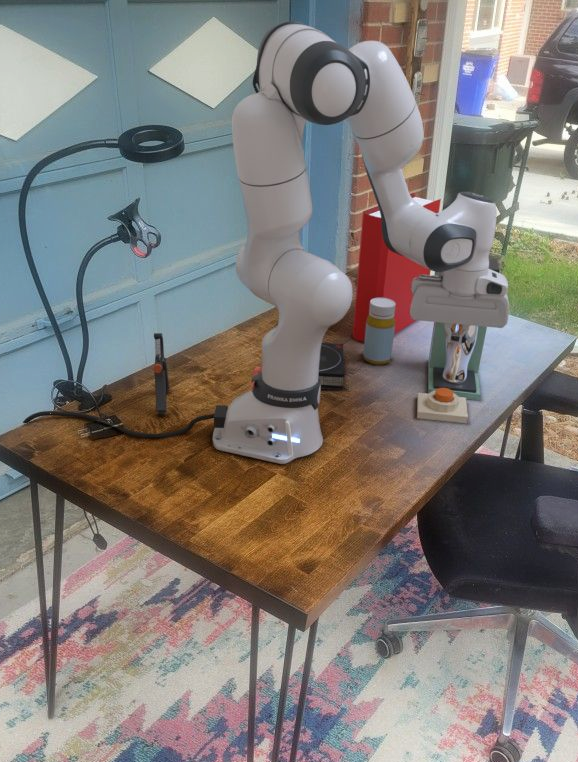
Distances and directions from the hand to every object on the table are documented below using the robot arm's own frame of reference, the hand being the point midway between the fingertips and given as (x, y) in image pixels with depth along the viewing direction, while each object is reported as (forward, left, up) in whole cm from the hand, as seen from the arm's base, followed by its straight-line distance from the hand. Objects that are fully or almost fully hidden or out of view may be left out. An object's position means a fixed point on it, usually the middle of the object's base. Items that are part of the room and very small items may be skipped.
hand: (454, 342), depth 154 cm
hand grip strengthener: (-61, -10, -17) cm, 64 cm away
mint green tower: (+3, +16, -17) cm, 23 cm away
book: (-14, +45, -17) cm, 50 cm away
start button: (0, 0, -14) cm, 14 cm away
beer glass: (+3, +12, -15) cm, 19 cm away
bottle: (-16, +23, -17) cm, 33 cm away
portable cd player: (-32, +12, -17) cm, 38 cm away
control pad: (0, 0, -17) cm, 17 cm away
